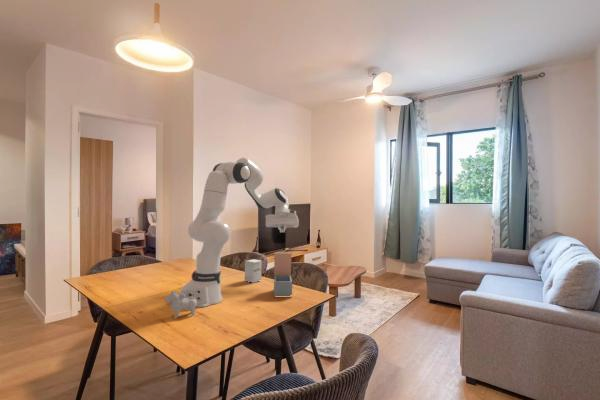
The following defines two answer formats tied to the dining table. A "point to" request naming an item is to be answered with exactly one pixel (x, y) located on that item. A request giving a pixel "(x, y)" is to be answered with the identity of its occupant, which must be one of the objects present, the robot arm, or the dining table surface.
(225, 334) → the dining table surface
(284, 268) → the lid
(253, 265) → the white cylinder
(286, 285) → the box
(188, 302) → the grey dog figurine
